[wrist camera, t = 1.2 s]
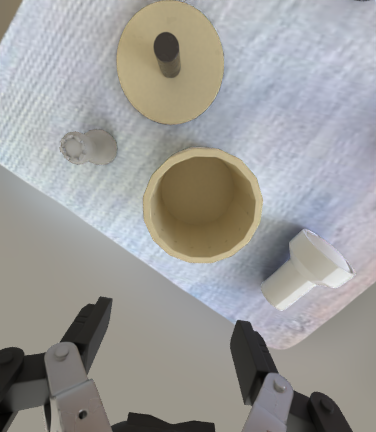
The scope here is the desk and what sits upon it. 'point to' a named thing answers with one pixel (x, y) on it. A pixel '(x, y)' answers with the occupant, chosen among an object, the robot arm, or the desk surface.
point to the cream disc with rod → (170, 62)
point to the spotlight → (306, 270)
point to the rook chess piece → (89, 147)
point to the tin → (202, 205)
